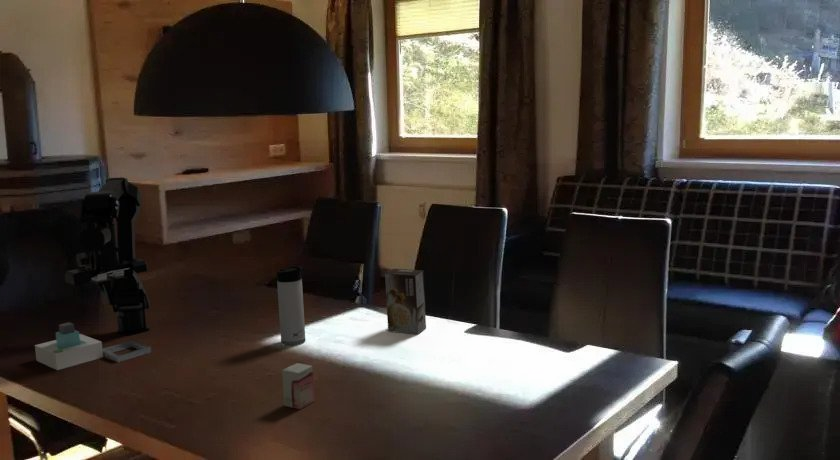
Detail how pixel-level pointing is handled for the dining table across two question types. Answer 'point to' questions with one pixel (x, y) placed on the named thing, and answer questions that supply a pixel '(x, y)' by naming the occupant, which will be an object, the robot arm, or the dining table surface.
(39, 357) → the frame
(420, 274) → the coffee box
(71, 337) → the plug
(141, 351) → the open square ring
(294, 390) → the small box
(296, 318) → the travel mug
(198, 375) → the dining table surface
